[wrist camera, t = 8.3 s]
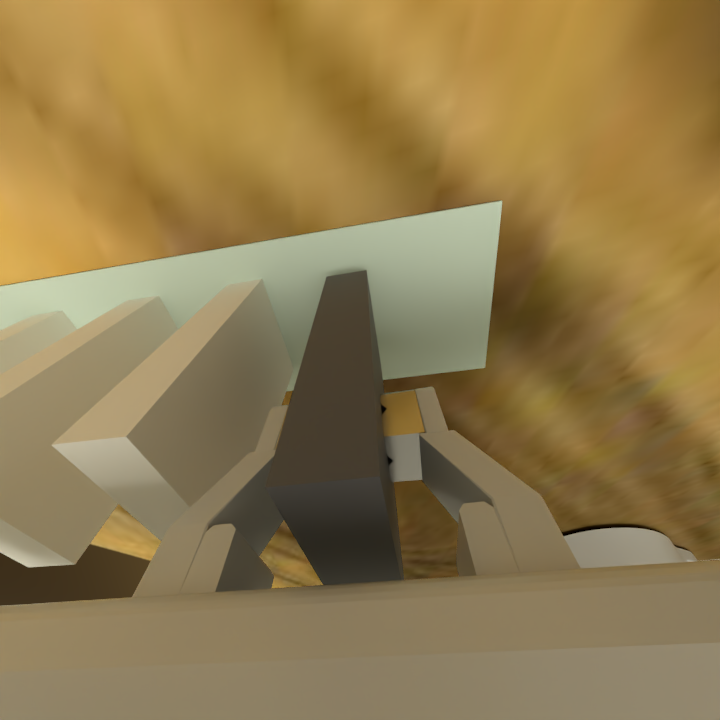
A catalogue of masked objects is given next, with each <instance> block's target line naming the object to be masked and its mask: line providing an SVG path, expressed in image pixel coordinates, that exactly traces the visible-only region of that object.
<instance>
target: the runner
mask: <svg viewBox="0 0 720 720" xmlns="http://www.w3.org/2000/svg"><path fill="white" fill-rule="evenodd" d="M501 209H502V201H501V200H499V201H494V202H488V203H482V204H476V205H470V206H464V207H459V208H453V209H447V210H441V211H435V212H429V213H423V214H418V215H412V216H406V217H400V218H394V219H388V220H383V221H377V222H371V223H365V224H359V225H353V226H347V227H342V228H336V229H330V230H324V231H318V232H312V233H307V234H301V235H295V236H289V237H283V238H277V239H272V240H266V241H260V242H254V243H248V244H242V245H236V246H231V247H225V248H219V249H213V250H207V251H201V252H196V253H190V254H184V255H178V256H172V257H166V258H160V259H155V260H149V261H143V262H137V263H131V264H125V265H120V266H114V267H108V268H102V269H96V270H90V271H85V272H79V273H73V274H67V275H61V276H55V277H49V278H44V279H38V280H32V281H26V282H20V283H14V284H9V285H3V286H0V330H2V329H4V328H7V327H9V326H11V325H13V324H15V323H17V322H19V321H22V320H24V319H26V318H28V317H30V316H32V315H38V314H44V313H50V312H57V311H63V312H64V313H65V314H66V316H67V317H68V318H69V319H70V321H71V322H72V323H73V324H74V326H75V327H76V328H77V329H79V328H81V327H83V326H84V325H86V324H88V323H89V322H91V321H93V320H94V319H96V318H98V317H100V316H101V315H103V314H105V313H106V312H108V311H110V310H112V309H113V308H115V307H117V306H118V305H120V304H122V303H124V302H125V301H127V300H132V299H139V298H145V297H151V296H158V295H159V297H160V298H161V300H162V302H163V304H164V305H165V307H166V309H167V311H168V312H169V314H170V316H171V317H172V319H173V321H174V323H175V324H176V326H177V328H178V329H179V328H181V327H182V326H183V325H184V324H185V323H186V322H187V321H188V320H189V319H191V318H192V317H193V316H194V315H195V314H196V313H197V312H198V311H199V310H200V309H202V308H203V307H204V306H205V305H206V304H207V303H208V302H209V301H210V300H212V299H213V298H214V297H215V296H216V295H217V294H218V293H219V292H220V291H221V290H223V289H224V288H225V287H226V286H227V285H228V284H234V283H240V282H246V281H253V280H259V279H262V280H263V283H264V286H265V289H266V291H267V294H268V297H269V300H270V303H271V306H272V308H273V311H274V314H275V317H276V320H277V323H278V325H279V328H280V331H281V334H282V337H283V339H284V342H285V345H286V348H287V351H288V354H289V356H290V359H291V362H292V365H293V368H294V370H293V373H292V376H291V379H290V382H289V385H288V388H287V391H293V390H294V386H295V383H296V379H297V376H298V372H299V369H300V366H301V362H302V359H303V355H304V352H305V349H306V345H307V342H308V338H309V335H310V331H311V328H312V325H313V321H314V318H315V314H316V311H317V307H318V304H319V301H320V297H321V294H322V290H323V287H324V284H325V280H326V277H327V276H333V275H339V274H345V273H351V272H357V271H364V270H367V276H368V283H369V289H370V296H371V303H372V309H373V316H374V322H375V329H376V336H377V342H378V349H379V356H380V362H381V369H382V377H383V380H387V379H395V378H404V377H412V376H421V375H429V374H437V373H446V372H454V371H463V370H471V369H479V368H485V363H486V354H487V344H488V334H489V325H490V315H491V305H492V296H493V286H494V277H495V267H496V257H497V248H498V238H499V228H500V219H501Z"/></svg>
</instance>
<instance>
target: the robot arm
mask: <svg viewBox="0 0 720 720" xmlns="http://www.w3.org/2000/svg"><path fill="white" fill-rule="evenodd" d="M380 402H381V409H382V425H383V436H384V442H385V448H386V454H387V456H388V464H389V471H390V477H391V482H398V481H413V480H423V482H424V484H425V485H426V486H427V487H428V488H429V490H430V491H431V492H432V493H433V494H434V495H435V497H436V498H437V499H438V500H439V501H440V503H441V504H442V505H443V506H444V507H445V509H446V510H447V511H448V512H449V513H450V515H451V516H452V517H453V518H454V519H455V521H456V522H457V523H458V538H457V554H456V566H457V570H458V574H459V577H443V578H427V579H412V580H396V581H380V582H365V583H349V584H334V585H318V586H302V587H287V588H272V583H273V578H274V576H273V574H272V572H271V570H270V569H269V568H268V567H267V566H266V564H265V563H264V562H263V561H262V559H261V558H260V557H259V556H260V554H261V553H262V551H263V550H264V548H265V547H266V545H267V544H268V542H269V541H270V539H271V538H272V536H273V535H274V534H275V532H276V531H277V529H278V528H279V526H280V525H281V523H282V522H283V520H284V519H283V517H282V515H281V514H280V512H279V510H278V509H277V507H276V505H275V504H274V502H273V500H272V499H271V497H270V495H269V494H268V492H267V490H266V489H265V485H266V482H267V478H268V475H269V472H270V468H271V465H272V461H273V458H274V455H275V451H276V448H277V444H278V441H279V437H280V434H281V431H282V427H283V424H284V420H285V417H286V413H287V410H288V407H289V405H281V406H274V407H272V408H271V410H270V412H269V414H268V417H267V420H266V422H265V425H264V428H263V431H262V433H261V436H260V439H259V442H258V444H257V447H256V450H255V452H250V453H248V454H247V455H246V456H245V457H244V458H243V459H242V460H241V461H240V462H239V463H238V464H237V465H235V466H234V467H233V468H232V469H231V470H230V471H229V472H228V473H227V474H226V475H225V476H224V477H222V478H221V479H220V480H219V481H218V482H217V483H216V484H215V485H214V486H213V487H212V488H211V489H210V490H208V491H207V492H206V493H205V494H204V495H203V496H202V497H201V498H200V499H199V500H198V501H197V502H195V503H194V504H193V505H192V506H191V507H190V508H189V509H188V510H187V511H186V512H185V513H184V514H182V515H181V516H180V517H179V518H178V519H177V520H176V521H175V522H174V523H173V524H172V525H171V526H170V527H169V528H168V530H167V532H166V534H165V536H164V537H163V539H162V541H161V543H160V545H159V547H158V549H157V551H156V553H155V555H154V556H153V558H152V560H151V562H150V564H149V566H148V568H147V570H146V572H145V574H144V576H143V577H142V579H141V581H140V583H139V585H138V587H137V589H136V591H135V593H134V595H133V596H132V597H131V598H117V599H102V600H101V599H100V600H85V601H69V602H54V603H39V604H24V605H8V606H0V720H720V560H709V561H697V559H696V558H695V556H694V555H693V554H692V553H691V552H690V551H687V550H684V549H680V548H677V547H675V546H674V545H673V543H672V542H671V540H670V539H669V538H668V537H667V536H665V535H663V534H661V533H659V532H656V531H652V530H648V529H641V528H606V529H597V530H590V531H584V532H579V533H575V534H570V535H567V536H563V535H562V533H561V531H560V529H559V527H558V525H557V524H556V522H555V520H554V518H553V516H552V514H551V513H550V511H549V509H548V507H547V505H546V503H545V501H544V500H543V498H542V496H541V495H540V494H539V493H537V492H536V491H535V490H533V489H532V488H531V487H529V486H528V485H527V484H525V483H524V482H523V481H521V480H520V479H519V478H517V477H516V476H515V475H513V474H512V473H511V472H509V471H508V470H507V469H505V468H504V467H503V466H501V465H500V464H499V463H497V462H496V461H495V460H493V459H492V458H491V457H489V456H488V455H487V454H485V453H484V452H483V451H481V450H480V449H479V448H477V447H476V446H475V445H473V444H472V443H471V442H469V441H468V440H467V439H465V438H464V437H463V436H461V435H460V434H459V433H457V432H456V431H455V430H450V431H448V428H447V425H446V422H445V419H444V416H443V413H442V410H441V407H440V404H439V401H438V398H437V395H436V392H435V389H434V388H433V387H425V388H418V389H415V390H406V391H398V392H391V393H383V394H380Z"/></svg>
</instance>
